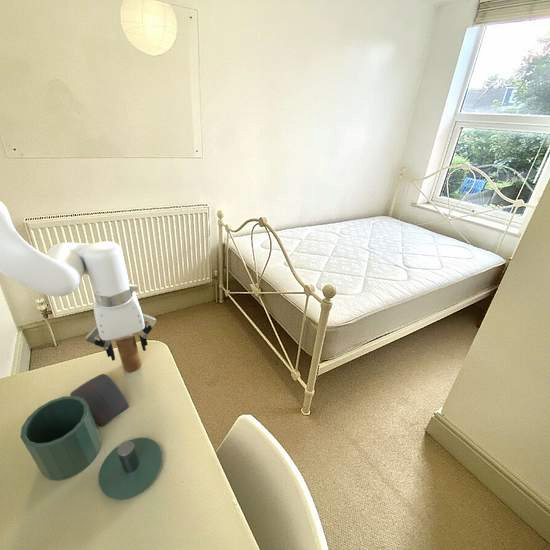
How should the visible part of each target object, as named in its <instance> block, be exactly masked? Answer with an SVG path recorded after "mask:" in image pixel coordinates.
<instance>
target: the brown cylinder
mask: <svg viewBox="0 0 550 550" xmlns="http://www.w3.org/2000/svg"><path fill="white" fill-rule="evenodd" d="M114 340H115V344H116V348H117V352H118V354H119V358H120V362H121V365H122V369H123V371H124V372H126V373H133V372H137V371H138V370H139V369H140V368H141V366H142V361H141V356H140V352H139V349H138V345H137V340H136V336H135V333H133V334H130V335H126V336H123V337H119V338H115V339H114Z"/></svg>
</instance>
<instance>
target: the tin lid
mask: <svg viewBox="0 0 550 550" xmlns="http://www.w3.org/2000/svg"><path fill="white" fill-rule="evenodd" d="M162 465H163V452H162V449H161V447H160V445H159V444H158V443H157V442H155V441H154V440H153V439H150V438H148V437H136V438H131V439H128V440H125V441H123V442H121V443H120V444H119V445H118V446H116V447H115V448H113V449H112V451H110V453H109V454H108V455H107V456H106V458H105V459H104V460H103V462H102V464H101V466H100V469H99V471H98V486H99V488H100V490H101V492H102V493H103V494H104V495H105V496H106V497H107V498H110V499H113V500H116V501H120V500H127V499H131V498H134V497H136V496H138V495H139V494H141V493H143V492H144V491H146V490H147V489H148V488H149V487H150V486H151V485H152V484H153V483H154V481H155V480H156V479H157V477H158V476H159V474H160V472H161V469H162Z"/></svg>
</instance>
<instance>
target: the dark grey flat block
mask: <svg viewBox="0 0 550 550" xmlns="http://www.w3.org/2000/svg"><path fill="white" fill-rule="evenodd" d="M69 396H77V397H80V398H83V399H84V400H85V401H86V403H87V404H88V406H89V409H90V411H91V414H92V416H93V419H94V421H95V423H97V424H98V425H99V426H101V427H104V426H106V425H107V424H108V423H109V422H111V421H112V420H113V419H115V418H116V417H117V416H119V415H120V414H121V413H123V412H124V411H125V410H127V409H128V408H130V404H129V402H128V400H127V399H126V397H125V395H124V393H123V392H122V390H121V389H120V387H119V386H118V385H117V384H116V382H115V381H114V380H113V379H112V378H111V377H110V376H108V374H106V373H101V374H98V375H97V376H95V377H93V378H91V379H90V380H88V381H86V382H84V383H83V384H81V385H80V386H78V387H77V388H75V389H74V390H72V391H71V392H70V395H69Z"/></svg>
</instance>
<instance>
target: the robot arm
mask: <svg viewBox="0 0 550 550" xmlns="http://www.w3.org/2000/svg"><path fill="white" fill-rule="evenodd" d="M0 273H1V274H2V275H3V276H4V277H6V278H8V279H10V280H11V281H13V282H15V283H17V284H19V285H22V286H24V287H26V288H28V289H30V290H32V291H34V292H37V293H39V294H42V295H45V296H49V297H65V296H68V295H70V294H72V293H73V292H75V291H77V289H78V287H79V286H80V284H81V282H82V279H83V276H84V275H88V278H89V281H90V282H89V283H90V285H91V288H92V292H93V295H94V300H93V304H92V306H93V314H94V320H95V324H96V325H95V326H94V327H93V328H92V329H91V331H90V332H89V333H87V335H86V336H85V341H86V342H88V343H90V344H94V345H95V346H97V347H100V348H103V350H105V353H106V357H107V358H111V361H112V362H113V361H115V360H116V356H115V351H114V348H113V347H114V346H113V343H112V340H115V339H116V338H119V337H123V336H126V335H130V334H138V336H139V341H140V344H141V348H142V351H143V352H145V351H147V348H146V346H148V345H149V344H148V341H147V337H148V335H149V334H150V332H151V331H152V329H153V328H154V326H155V325H156V323H157V319H156V317H154V316H151V315H148V314H145V313H144V312H143V311H142V308H141V304H140V301H139V299H138V296H137V294H136V292H135V291H138V290H139V289H138V285H137V284H131V283H130V279H129V276H128V271H127V266H126V262H125V257H124V252H123V249H122V247H121V246H120V244H118V243H117V242H114V241H110V240H109V241H107V240H106V241H105V240H104V241H98V242H93V243H87V242H86V243H85V242H71V241H70V242H59V243H56V244H53V245H52V246H51V247H50V248H49V249H48V251H47V252H46V253H43V252H42V251H40V250H38V249H37V248H35V247H33V246H32V245H31V244H30V243H28V242H27V241H26V240H25V239H24V238H23V237H22V236H21V235H20V234H19V233H18V231H17V229H16V228H15V226H14V224H13V222H12V218H11V215H10V213H9V210H8V207H7V206H6V205H5V204H4V202H2V201H0ZM145 323H146V324H145ZM97 335H98V336H99V337H97Z"/></svg>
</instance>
